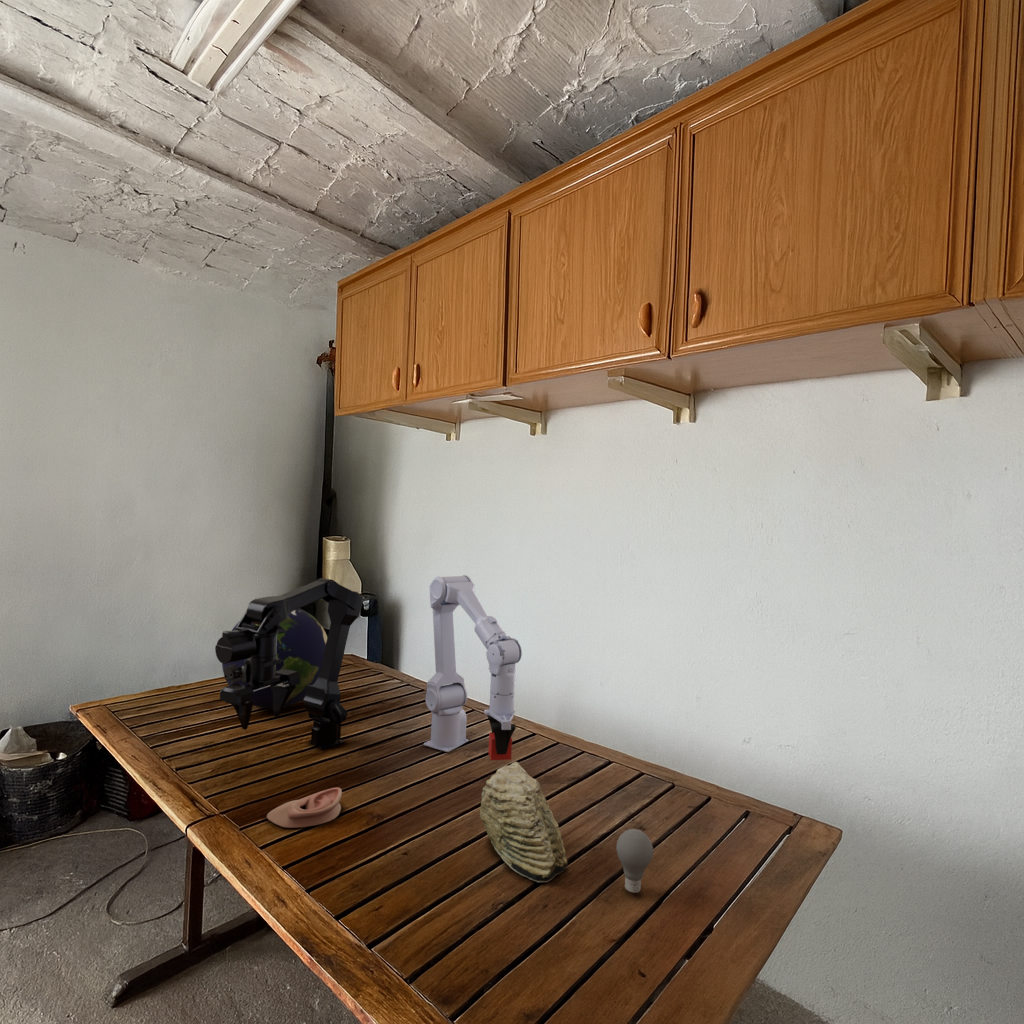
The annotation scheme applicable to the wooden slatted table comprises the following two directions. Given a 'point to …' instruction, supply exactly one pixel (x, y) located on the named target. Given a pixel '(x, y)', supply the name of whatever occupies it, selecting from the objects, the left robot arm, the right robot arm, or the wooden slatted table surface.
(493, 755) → the block
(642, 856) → the light bulb
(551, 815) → the fossil
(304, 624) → the globe
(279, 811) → the anatomical model
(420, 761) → the wooden slatted table surface
